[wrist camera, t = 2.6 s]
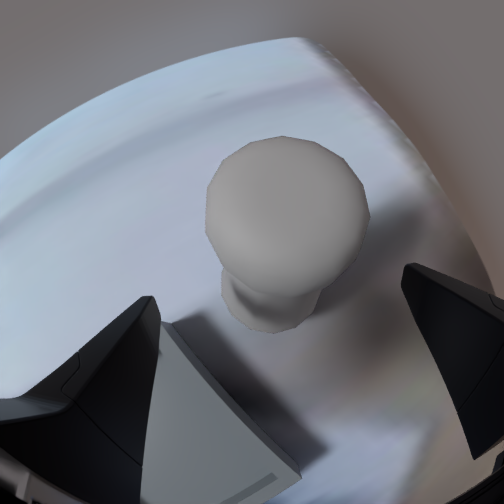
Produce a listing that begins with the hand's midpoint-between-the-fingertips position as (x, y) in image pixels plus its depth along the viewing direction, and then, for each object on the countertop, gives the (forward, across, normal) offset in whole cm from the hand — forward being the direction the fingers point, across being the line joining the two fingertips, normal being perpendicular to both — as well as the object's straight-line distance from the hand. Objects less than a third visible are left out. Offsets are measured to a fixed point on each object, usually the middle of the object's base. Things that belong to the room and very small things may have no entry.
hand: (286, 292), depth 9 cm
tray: (0, +9, +13) cm, 15 cm away
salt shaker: (+8, 0, +6) cm, 10 cm away
